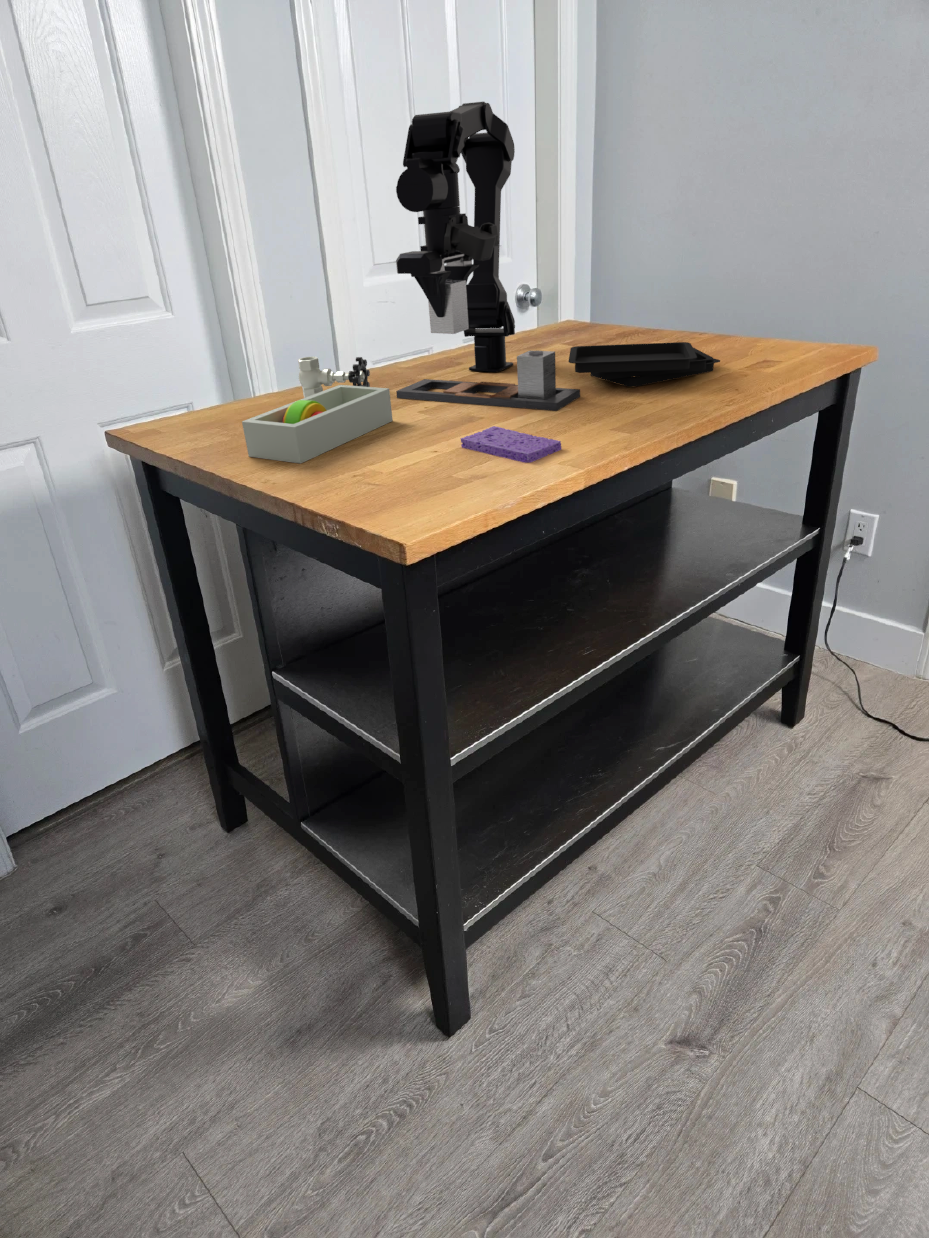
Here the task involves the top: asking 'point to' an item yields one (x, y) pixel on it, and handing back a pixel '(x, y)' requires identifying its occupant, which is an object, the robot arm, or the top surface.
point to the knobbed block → (451, 309)
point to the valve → (329, 375)
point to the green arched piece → (302, 411)
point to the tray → (641, 362)
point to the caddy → (318, 424)
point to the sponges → (510, 444)
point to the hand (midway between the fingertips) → (448, 314)
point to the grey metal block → (536, 375)
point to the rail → (467, 390)
